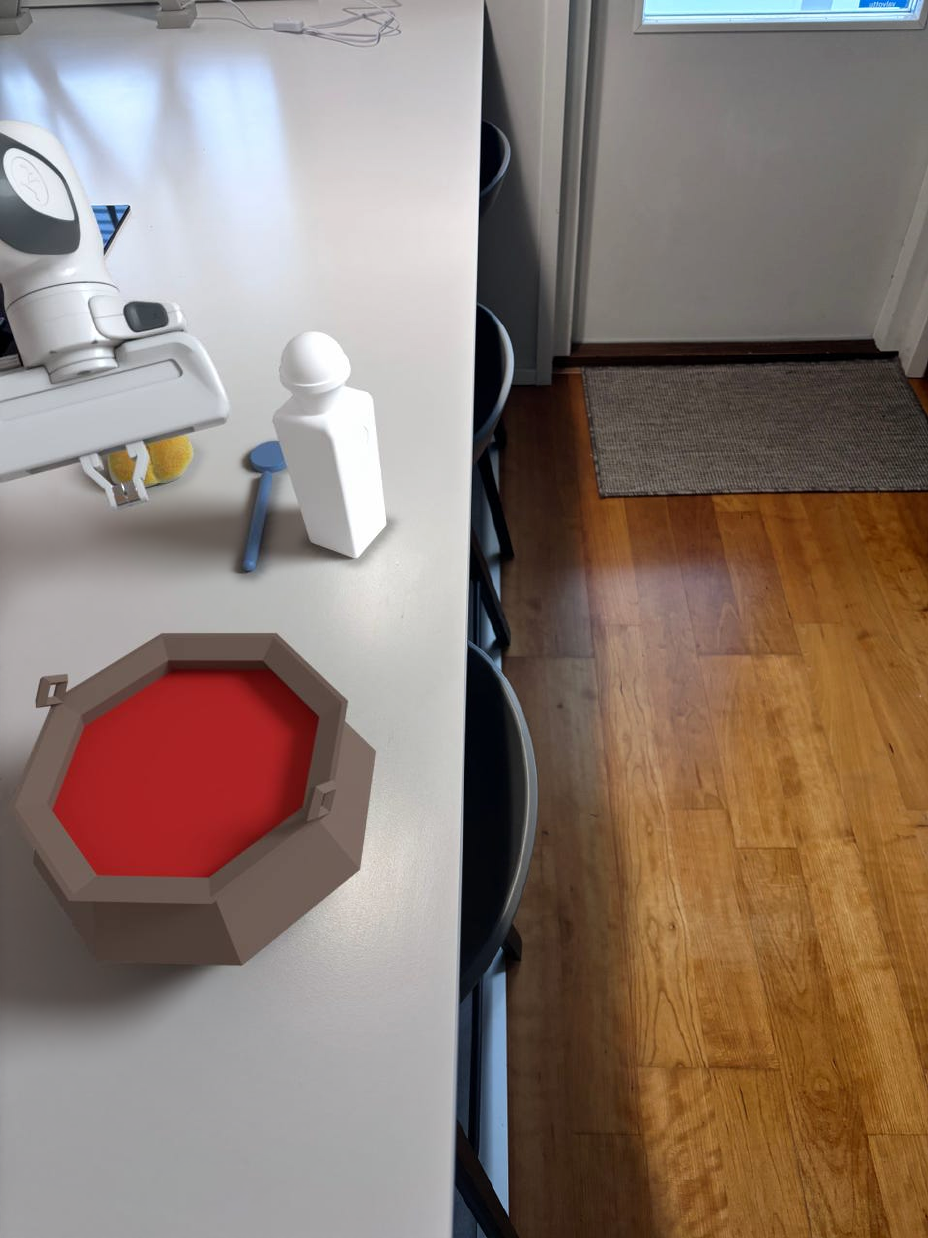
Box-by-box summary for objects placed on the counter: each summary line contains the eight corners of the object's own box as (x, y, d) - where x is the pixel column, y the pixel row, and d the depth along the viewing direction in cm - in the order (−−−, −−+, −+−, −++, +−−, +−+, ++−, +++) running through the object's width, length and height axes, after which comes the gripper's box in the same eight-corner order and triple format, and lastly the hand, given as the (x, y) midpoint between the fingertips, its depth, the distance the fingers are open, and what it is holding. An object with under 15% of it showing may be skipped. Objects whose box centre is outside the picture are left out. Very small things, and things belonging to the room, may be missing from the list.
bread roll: (201, 477, 101) (191, 447, 98) (116, 499, 99) (103, 470, 96) (189, 433, 106) (179, 403, 103) (108, 454, 105) (96, 424, 102)
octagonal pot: (2, 933, 68) (-116, 817, 56) (199, 687, 82) (139, 551, 70) (283, 1082, 60) (216, 985, 48) (449, 782, 74) (430, 648, 62)
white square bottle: (357, 564, 91) (317, 366, 74) (302, 544, 93) (251, 347, 77) (394, 522, 94) (362, 325, 78) (340, 503, 97) (298, 308, 80)
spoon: (272, 572, 91) (270, 563, 90) (227, 575, 91) (224, 566, 90) (294, 446, 104) (292, 437, 103) (254, 448, 104) (252, 439, 103)
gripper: (-73, 361, 71) (-12, 539, 72) (197, 298, 75) (250, 466, 76) (-46, 381, 77) (9, 544, 78) (202, 321, 81) (251, 477, 82)
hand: (130, 505), depth 77 cm, fingers closed
